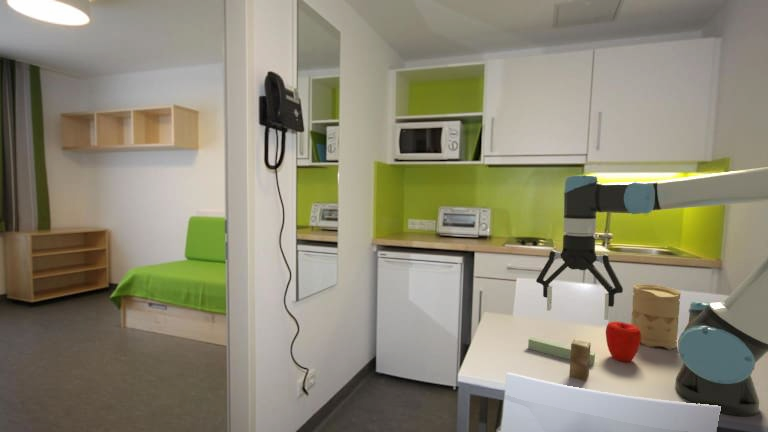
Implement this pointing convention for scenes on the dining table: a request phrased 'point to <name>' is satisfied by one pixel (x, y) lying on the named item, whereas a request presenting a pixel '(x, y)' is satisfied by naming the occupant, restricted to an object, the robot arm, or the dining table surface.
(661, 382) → the dining table surface
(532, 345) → the rail
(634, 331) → the apple
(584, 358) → the walnut block
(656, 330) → the container
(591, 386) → the dining table surface
